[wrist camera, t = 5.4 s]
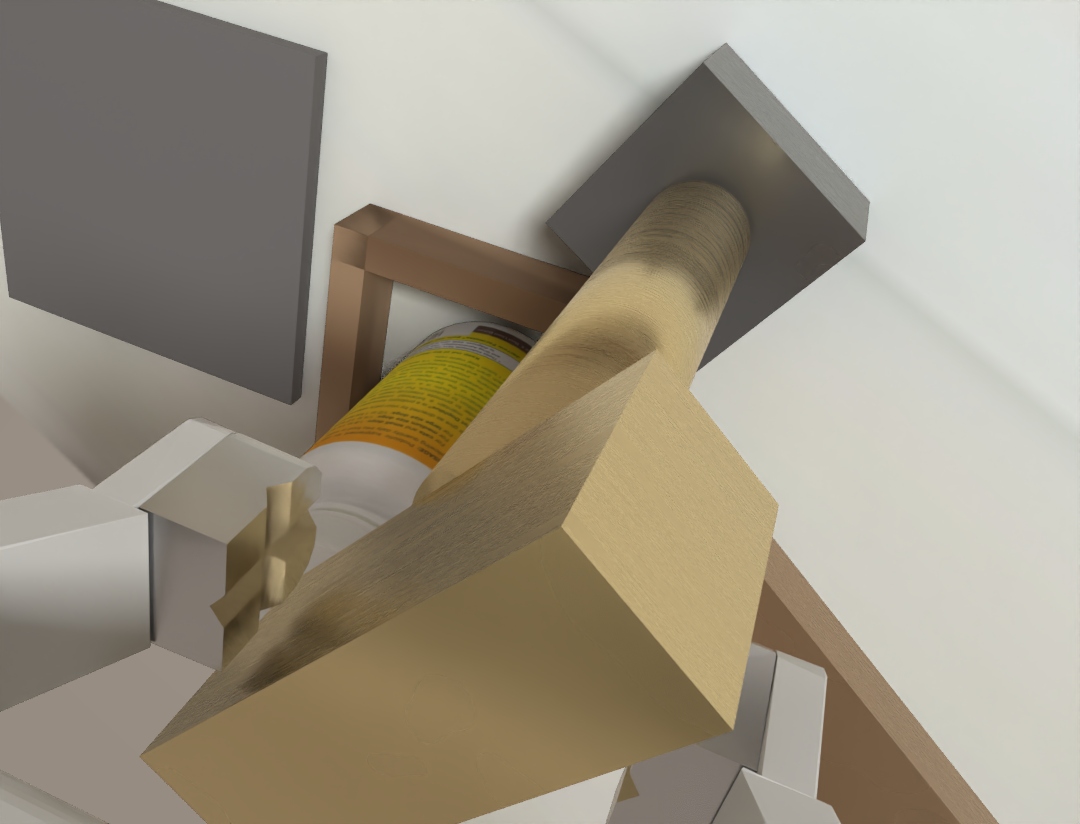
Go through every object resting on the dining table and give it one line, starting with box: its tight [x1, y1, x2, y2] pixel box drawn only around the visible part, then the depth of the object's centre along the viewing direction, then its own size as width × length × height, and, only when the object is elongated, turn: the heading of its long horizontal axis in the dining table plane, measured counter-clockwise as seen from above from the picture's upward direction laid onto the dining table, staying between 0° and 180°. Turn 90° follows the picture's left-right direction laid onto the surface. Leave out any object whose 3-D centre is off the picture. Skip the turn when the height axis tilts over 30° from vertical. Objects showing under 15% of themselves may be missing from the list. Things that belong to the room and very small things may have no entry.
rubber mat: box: [0, 0, 327, 405], centre depth 28 cm, size 11×11×1 cm
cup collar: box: [315, 204, 590, 443], centre depth 27 cm, size 10×10×2 cm
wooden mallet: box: [140, 181, 999, 824], centre depth 15 cm, size 13×6×15 cm, turn 41°
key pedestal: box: [546, 43, 870, 372], centre depth 22 cm, size 5×5×3 cm
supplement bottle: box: [259, 322, 536, 621], centre depth 24 cm, size 6×6×10 cm
